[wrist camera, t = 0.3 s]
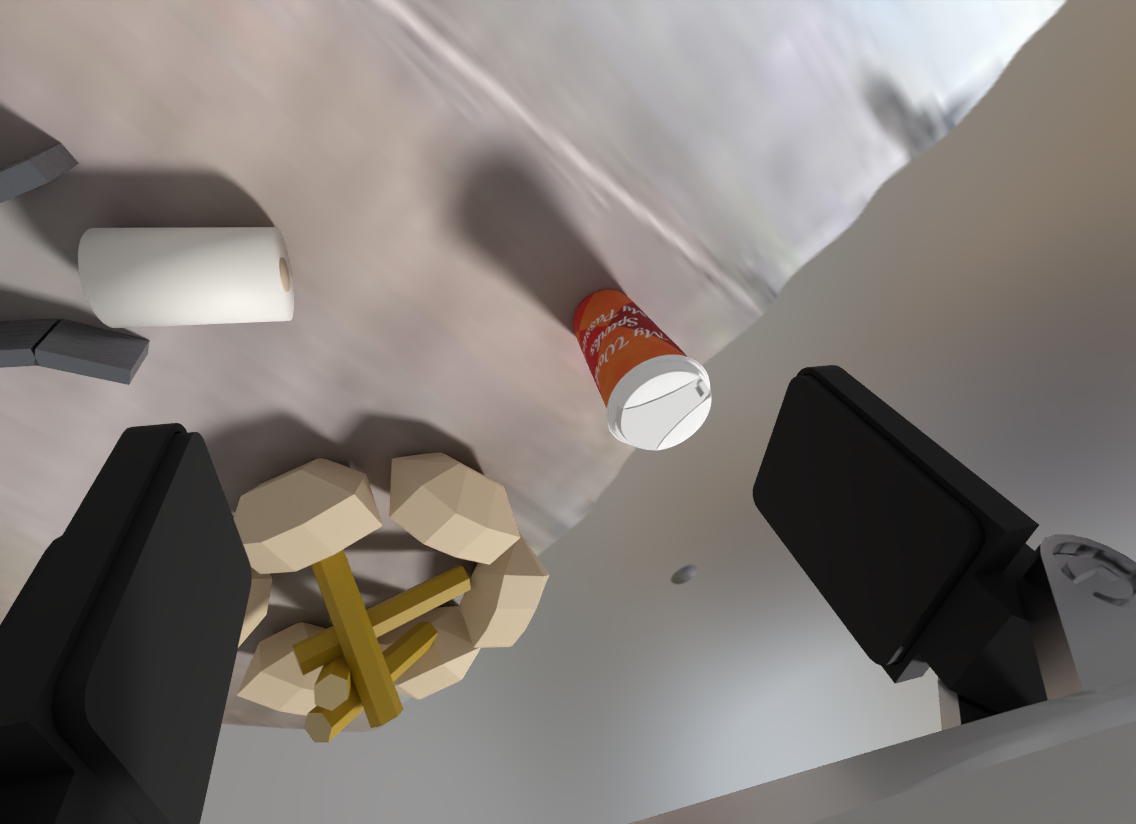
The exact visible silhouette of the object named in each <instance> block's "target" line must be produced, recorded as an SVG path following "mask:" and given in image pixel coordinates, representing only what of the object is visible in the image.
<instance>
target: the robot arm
mask: <svg viewBox="0 0 1136 824" xmlns="http://www.w3.org/2000/svg"><path fill="white" fill-rule="evenodd" d="M753 499H754V502H755V505H756V506H757V508H758V510H759V511H760V512H761V514H762V515H763V516H764V518H765V519H766V520H767V522H768V523H769V524H770V526H771V527H772V528H773V530H774V531H775V532H776V534H777V535H778V536H779V538H780V539H781V541H782V542H783V543H784V545H785V546H786V547H787V548H788V550H789V551H790V553H791V554H792V555H793V557H794V558H795V559H796V561H797V562H798V563H799V564H800V566H801V567H802V568H803V570H804V571H805V572H806V574H807V575H808V577H809V578H810V579H811V581H812V582H813V583H814V585H815V586H816V587H817V589H818V590H819V591H820V593H821V594H822V595H823V597H824V598H825V599H826V601H827V602H828V603H829V605H830V606H831V607H832V609H833V610H834V611H835V613H836V614H837V616H838V617H839V618H840V619H841V621H842V622H843V624H844V625H845V626H846V627H847V629H848V630H849V632H850V633H851V634H852V636H853V637H854V638H855V640H856V641H857V642H858V644H859V645H860V646H861V648H862V649H863V650H864V652H865V653H866V654H867V656H868V657H869V658H870V659H871V660H872V661H874V662H875V663H876V664H879V665H881V666H882V667H883V668H884V670H885V671H886V672H887V674H888V675H889V676H890V678H891V679H892V680H893V682H894V683H899V682H903V681H906V680H910V679H914V678H918V677H921V676H923V675H924V673H925V672H926V671H927V670H928V668H929V667H931V669H932V670H933V671H934V672H935V673H936V675H937V676H938V690H939V702H940V713H941V723H942V724H941V725H942V731H939V732H936V733H933V734H929V735H926V736H923V737H919V738H916V739H912V740H909V741H905V742H902V743H898V744H895V745H891V746H888V747H885V748H881V749H878V750H874V751H871V752H868V753H864V754H861V755H857V756H854V757H851V758H848V759H844V760H841V761H837V762H834V763H831V764H827V765H824V766H821V767H817V768H814V769H810V770H807V771H804V772H800V773H797V774H794V775H790V776H787V777H784V778H780V779H777V780H774V781H770V782H767V783H763V784H760V785H757V786H754V787H750V788H747V789H743V790H740V791H737V792H733V793H730V794H727V795H723V796H720V797H717V798H714V799H710V800H707V801H704V802H700V803H697V804H693V805H690V806H687V807H683V808H680V809H677V810H673V811H670V812H667V813H664V814H660V815H657V816H654V817H650V818H647V819H643V820H640V821H637V822H633V823H630V824H1136V562H1134V561H1133V560H1131V559H1130V558H1129V557H1127V556H1126V555H1124V554H1122V553H1120V552H1118V551H1116V550H1114V549H1112V548H1110V547H1108V546H1106V545H1104V544H1101V543H1098V542H1096V541H1093V540H1091V539H1088V538H1083V537H1079V536H1074V535H1068V534H1055V535H1052V536H1049V537H1046V538H1045V539H1044V540H1043V541H1042V542H1041V544H1040V545H1039V546H1038V547H1037V549H1036V550H1035V551H1034V550H1033V549H1031V548H1030V547H1029V546H1028V545H1027V544H1026V541H1027V540H1028V539H1029V538H1030V536H1031V535H1032V534H1033V532H1034V531H1035V530H1036V528H1037V527H1038V526H1039V524H1038V523H1036V522H1035V521H1034V520H1032V519H1031V518H1030V517H1028V516H1027V515H1026V514H1025V513H1024V512H1022V511H1021V510H1020V509H1018V508H1017V507H1016V506H1015V505H1013V504H1012V503H1011V502H1010V501H1009V500H1007V499H1006V498H1005V497H1003V496H1002V495H1001V494H1000V493H998V492H997V491H996V490H995V489H993V488H992V487H991V486H990V485H988V484H987V483H986V482H985V481H983V480H982V479H981V478H979V477H978V476H977V475H976V474H974V473H973V472H972V471H971V470H969V469H968V468H967V467H966V466H964V465H963V464H962V463H961V462H959V461H958V460H957V459H955V458H954V457H953V456H952V455H950V454H949V453H948V452H947V451H946V450H944V449H943V448H942V447H940V446H939V445H938V444H937V443H935V442H934V441H933V440H932V439H930V438H929V437H928V436H927V435H925V434H924V433H922V432H921V431H920V430H919V429H918V428H917V427H915V426H914V425H913V424H911V423H910V422H909V421H908V420H906V419H905V418H904V417H903V416H901V415H900V414H899V413H898V412H896V411H895V410H894V409H893V408H891V407H890V406H889V405H888V404H886V403H885V402H884V401H882V400H881V399H880V398H878V397H877V396H876V395H875V394H873V393H872V392H871V391H870V390H868V389H867V388H866V387H865V386H864V385H862V384H861V383H860V382H858V381H857V380H856V379H855V378H853V377H852V376H851V375H850V374H848V373H847V372H846V371H845V370H843V369H842V368H840V367H838V366H835V365H829V366H817V367H806V368H804V369H802V370H801V371H800V372H799V373H798V374H797V376H796V377H794V378H793V379H792V380H791V382H790V383H789V386H788V388H787V391H786V394H785V397H784V400H783V403H782V406H781V409H780V412H779V414H778V417H777V420H776V423H775V426H774V429H773V432H772V435H771V438H770V441H769V443H768V446H767V449H766V452H765V455H764V458H763V461H762V464H761V467H760V470H759V472H758V475H757V478H756V481H755V484H754V487H753ZM251 583H252V572H251V565H250V561H249V559H248V556H247V553H246V551H245V548H244V545H243V543H242V540H241V537H240V535H239V532H238V529H237V527H236V524H235V521H234V519H233V516H232V514H231V511H230V508H229V506H228V503H227V500H226V498H225V495H224V492H223V490H222V487H221V484H220V482H219V479H218V476H217V474H216V471H215V469H214V466H213V463H212V461H211V458H210V455H209V453H208V450H207V447H206V445H205V442H204V440H203V438H202V436H201V435H200V434H199V433H198V432H190V433H187V431H186V429H185V428H184V427H183V426H182V425H181V424H179V423H171V424H160V425H149V426H137V427H130V428H127V429H126V430H125V431H124V432H123V434H122V435H121V437H120V439H119V440H118V442H117V444H116V445H115V447H114V449H113V451H112V452H111V454H110V456H109V457H108V459H107V461H106V462H105V464H104V466H103V467H102V469H101V471H100V473H99V474H98V476H97V478H96V479H95V481H94V483H93V484H92V486H91V488H90V489H89V491H88V493H87V495H86V496H85V498H84V500H83V501H82V503H81V505H80V506H79V508H78V510H77V512H76V513H75V515H74V517H73V518H72V520H71V522H70V523H69V525H68V527H67V528H66V530H65V532H64V534H63V535H62V536H60V537H59V538H57V539H55V540H54V541H53V542H52V543H51V544H50V546H49V547H48V548H47V549H46V551H45V552H44V554H43V555H42V557H41V559H40V560H39V562H38V564H37V565H36V567H35V569H34V570H33V572H32V574H31V575H30V577H29V579H28V580H27V582H26V583H25V585H24V587H23V588H22V590H21V592H20V593H19V595H18V597H17V598H16V600H15V602H14V603H13V605H12V607H11V608H10V610H9V612H8V613H7V615H6V617H5V618H4V620H3V621H2V623H1V625H0V824H199V823H200V820H201V816H202V811H203V806H204V802H205V797H206V792H207V788H208V783H209V779H210V774H211V769H212V765H213V760H214V756H215V751H216V746H217V742H218V737H219V733H220V728H221V723H222V719H223V714H224V709H225V705H226V700H227V696H228V691H229V686H230V682H231V677H232V673H233V668H234V663H235V659H236V654H237V650H238V645H239V640H240V636H241V631H242V626H243V622H244V617H245V613H246V608H247V603H248V599H249V594H250V590H251Z"/></svg>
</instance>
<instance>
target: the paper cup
mask: <svg viewBox="0 0 1136 824" xmlns="http://www.w3.org/2000/svg"><path fill="white" fill-rule="evenodd" d="M573 326H574V331H575V334H576V337H577V340H578V342H579V345H580V347H581V350H582V352H583V354H584V357H585V359H586V362H587V364H588V366H589V369H590V371H591V373H592V376H593V378H594V380H595V383H596V385H597V387H598V389H599V392H600V394H601V396H602V399H603V401H604V403H605V406H606V408H607V420H608V428H609V430H610V432H611V433H612V434H613V435H614V436H615V437H616V438H617V439H618V440H620V441H622V442H625V443H627V444H629V445H633V446H635V447H638V448H641V449H648V450H662V449H666V448H669V447H673V446H675V445H677V444H679V443H681V442H683V441H684V440H686V439H687V438H689V437H690V436H691V435H692V434H694V433H695V432H696V431H697V430H698V429H699V427H700V426H701V425H702V423H703V422H704V421H705V419H706V417H707V415H708V412H709V410H710V406H711V393H710V382H709V377H708V375H707V373H706V370H705V369H704V368H703V366H702V365H701V364H699V363H698V362H697V361H696V360H694V359H692V358H690V357H687V356H686V355H685V353H684V352H683V351H682V350H681V349H680V348H679V347H678V346H677V345H676V344H675V343H674V342H673V341H672V340H671V339H670V338H669V337H668V336H667V335H666V334H665V333H664V332H663V331H661V330H660V329H659V328H658V327H657V325H656V324H655V323H654V322H653V321H652V320H651V319H650V318H649V317H648V316H647V315H646V314H645V313H644V312H643V311H642V310H641V309H640V308H639V307H638V306H637V305H636V304H635V303H634V302H633V301H632V300H631V299H629V298H628V297H627V296H626V295H625V294H623V293H621V292H619V291H616V290H612V289H605V290H600V291H597V292H594V293H592V294H590V295H589V296H587V297H586V298H585V299H584V300H583V301H582V302H581V303H580V304H579V306H578V307H577V309H576V312H575V314H574V319H573Z"/></svg>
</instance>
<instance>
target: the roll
mask: <svg viewBox="0 0 1136 824" xmlns="http://www.w3.org/2000/svg"><path fill="white" fill-rule="evenodd" d="M78 268H79V275H80V279H81V283H82V287H83V290H84V293H85V296H86V298H87V300H88V303H89V304H90V306H91V308H92V310H93V311H94V313H95V314H96V316H97V317H98V318H99V319H100V320H101V321H102V322H103V323H104V324H105V325H107V326H109V327H111V328H130V327H153V326H176V325H200V324H223V323H246V322H270V321H290V320H291V319H292V316H293V311H294V289H293V279H292V272H291V266H290V261H289V257H288V252H287V248H286V244H285V241H284V238H283V236H282V233H281V231H280V230H279V229H278V228H277V227H195V228H90V229H88V230H87V231H85V233H84V234H83V236H82V237H81V240H80V243H79V249H78Z"/></svg>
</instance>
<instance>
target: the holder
mask: <svg viewBox="0 0 1136 824" xmlns="http://www.w3.org/2000/svg"><path fill="white" fill-rule="evenodd" d="M77 164H79V163H78V162H77V161H76V160H75V159H74V158H73V156H72V155H71V154H70V153H69V152H68V151H67V149H66V148H65V147H64V146H63V145H62V144H61V143H60V144H58V145H56V146H53V147H51V148H48V149H46V150H44V151H41V152H39V153H37V154H34V155H32V156H30V157H27V158H25V159H23V160H20V161H18V162H15V163H13V164H11V165H8V166H6V167H4V168H1V169H0V203H2V202H4V201H6V200H9V199H11V198H13V197H16V196H18V195H20V194H23V193H25V192H27V191H30V190H32V189H35V188H37V187H39V186H42V185H44V184H46V183H49V182H50V181H52V180H54V179H55V178H57V177H58V176H60V175H61V174H63V173H65V172H66V171H68V170H69V169H71V168H73V167H74V166H76V165H77ZM148 347H149V340H145V339H141V338H137V337H133V336H129V335H125V334H121V333H117V332H112V331H108V330H104V329H100V328H96V327H92V326H88V325H84V324H80V323H75V322H71V321H67V320H63V319H62V320H61V322H59V320H58V319H44V320H18V321H0V367H18V366H36V365H38V366H42V367H47V368H52V369H57V370H61V371H66V372H71V373H76V374H80V375H85V376H90V377H95V378H99V379H104V380H109V381H114V382H118V383H123V384H128V385H129V384H130V382H131V380H132V379H133V377H134V375H135V374H136V372H137V371H138V369H139V367H140V366H141V364H142V362H143V361H144V359H145V357H146V356H147V354H148Z"/></svg>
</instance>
